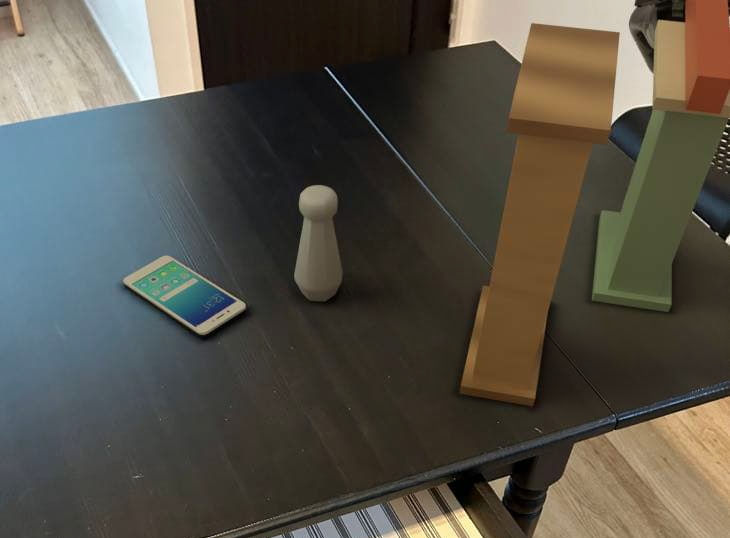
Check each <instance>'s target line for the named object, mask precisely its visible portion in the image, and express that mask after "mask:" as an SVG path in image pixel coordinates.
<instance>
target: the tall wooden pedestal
mask: <svg viewBox="0 0 730 538" xmlns="http://www.w3.org/2000/svg"><path fill="white" fill-rule="evenodd" d="M620 35H621V33H620V32H619V31H613V30H611V31H610V30H603V29H602V30H601V29H594V28H593V29H591V28H582V27H575V26H574V27H573V26H562V25H554V24H543V23H535V22H531V24H530V27H529V31H528V36H527V40H526V43H525V48H524V52H523V56H522V61H521V65H520V69H519V73H518V78H517V82H516V86H515V90H514V94H513V98H512V102H511V106H510V110H509V115H508V120H507V126H506V130H505V131H506V133H510V134H517V140H516V145H515V151H514V155H513V162H512V167H511V172H510V177H509V182H508V186H507V187H508V188H507V192H506V197H505V203H504V207H503V208H504V209H503V214H502V219H501V224H500V228H499V229H500V230H499V233H498V240H497V245H496V250H495V255H494V260H493V265H492V271H491V276H490V282H489V285H482V287H481V294H480V298H479V302H478V307H477V310H476V316H475V320H474V324H473V329H472V334H471V337H470V343H469V346H468V351H467V356H466V362H465V364H464V368H463V369H464V370H463V374H462V378H461V383H460V388H459V395H463V396H464V395H465V396H470V397H476V398H482V399H489V400H493V401H499V402H504V403H505V402H506V403H511V404H515V405H516V404H517V405H521V406H528V407H534V404H535V401H536V397H537V389H538V383H539V377H540V376H539V375H540V369H541V361H542V354H543V347H544V340H545V333H546V326H547V319H548V313H549V309H550V305H551V303H552V298H553V294H554V290H555V288H556V287H555V286H556V283H557V279H558V275H559V272H560V268H561V264H562V262H563V261H562V260H563V256H564V253H565V249H566V246H567V242H568V238H569V235H570V230H571V228H572V223H573V219H574V216H575V212H576V210H577V209H576V208H577V204H578V201H579V197H580V193H581V190H582V186H583V183H584V178H585V176H586V172H587V167H588V164H589V160H590V156H591V152H592V148H593V145H594V144H598V145H604V146H606V145H607V144H608V142H609V138H610V136H611V132H612V123H613V111H614V100H615V90H616V89H615V88H616V78H617V68H618V57H619V45H620V44H619V43H620Z"/></svg>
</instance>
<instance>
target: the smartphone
mask: <svg viewBox="0 0 730 538" xmlns="http://www.w3.org/2000/svg"><path fill="white" fill-rule="evenodd" d="M122 284H123V286H124V288H125V289H126V290H128V291H129V292H131V293H133V294H134V295H136V296H137V297H139V299H141V300H143V301H144V302H146V303H148V304H149V305H151V307H153V308H155V309H156V310H158V311H159V312H161V313H162V314H163V315H165V316H166V317H168V318H170V319H171V320H172V321H174V322H175V323H176V324H178V325H180V326H181V327H183V328H184V329H186V330H188V331H189V332H191V333H192V334H193V335H195V336H196V337H197V338H199V339H207V338H208V337H210V336H211V335H213V334H215V333H216V332H218V331H219V330H221V329H222V328H224V327H226V326H227V325H228V324H230V323H232V322H234V321H235V320H236V319H238V318H239V317H241V316H243V315H244V314H245V313H246V312H247V305H246V303H245V302H244V301H242V300H241V299H239V298H238V297H235V296H234V295H232V294H231V293H229V292H228V291H227V290H225V289H223V288H221V287H220V286H218V285H217V284H215V283H213V282H212V281H210V280H209V279H207V278H206V277H204V276H202V275H200V273H198V272H196V271H195V270H193V269H191V268H190V267H188V266H187V265H185V264H183V263H182V262H181V261H179V260H177V259H175V258H174V257H173V256H171V255H162V256H161V257H159V258H157V259H155V260H153V261H152V262H150V263H148V264H146V265H145V266H143V267H141V268H140V269H138V270H136V271H133V273H131V274H129V275H127V276H125V277H124V278H123V280H122Z"/></svg>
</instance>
